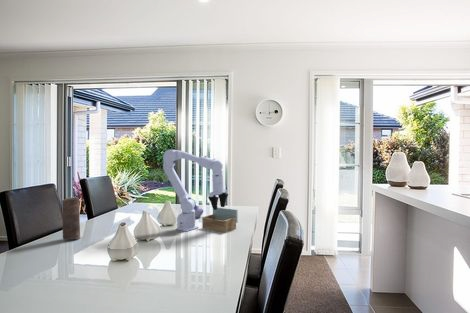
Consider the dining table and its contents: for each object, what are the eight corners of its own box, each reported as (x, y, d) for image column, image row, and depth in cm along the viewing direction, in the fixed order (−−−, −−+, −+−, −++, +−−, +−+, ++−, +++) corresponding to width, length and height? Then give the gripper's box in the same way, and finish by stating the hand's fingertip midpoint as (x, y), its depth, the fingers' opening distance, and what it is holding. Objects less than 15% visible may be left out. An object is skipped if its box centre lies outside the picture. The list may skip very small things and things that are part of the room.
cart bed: (226, 232, 158) (226, 220, 158) (202, 228, 167) (202, 217, 167) (236, 228, 166) (235, 217, 165) (212, 224, 175) (212, 214, 174)
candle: (72, 242, 143) (71, 199, 142) (58, 241, 144) (58, 198, 144) (83, 237, 150) (83, 196, 150) (70, 236, 152) (69, 196, 151)
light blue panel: (236, 223, 166) (236, 210, 166) (212, 219, 175) (212, 207, 175) (237, 222, 167) (237, 209, 167) (214, 219, 176) (214, 206, 176)
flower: (199, 209, 185) (198, 200, 194) (186, 215, 185) (186, 205, 194) (206, 220, 190) (204, 210, 198) (193, 226, 190) (192, 215, 198)
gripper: (216, 184, 157) (217, 211, 157) (231, 181, 170) (232, 206, 170) (205, 184, 161) (206, 210, 161) (220, 181, 173) (221, 205, 173)
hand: (218, 208), depth 166 cm, fingers open, 7 cm apart
